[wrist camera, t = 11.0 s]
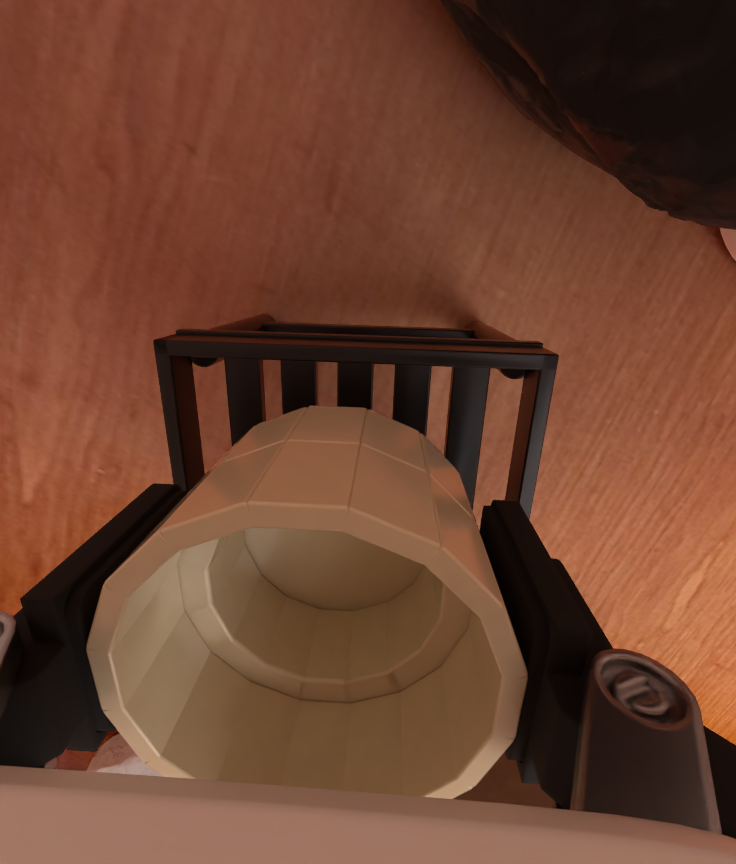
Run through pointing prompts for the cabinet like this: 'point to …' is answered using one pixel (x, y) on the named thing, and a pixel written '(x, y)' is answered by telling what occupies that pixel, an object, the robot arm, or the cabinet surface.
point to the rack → (360, 384)
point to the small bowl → (314, 619)
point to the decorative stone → (624, 89)
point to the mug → (729, 240)
